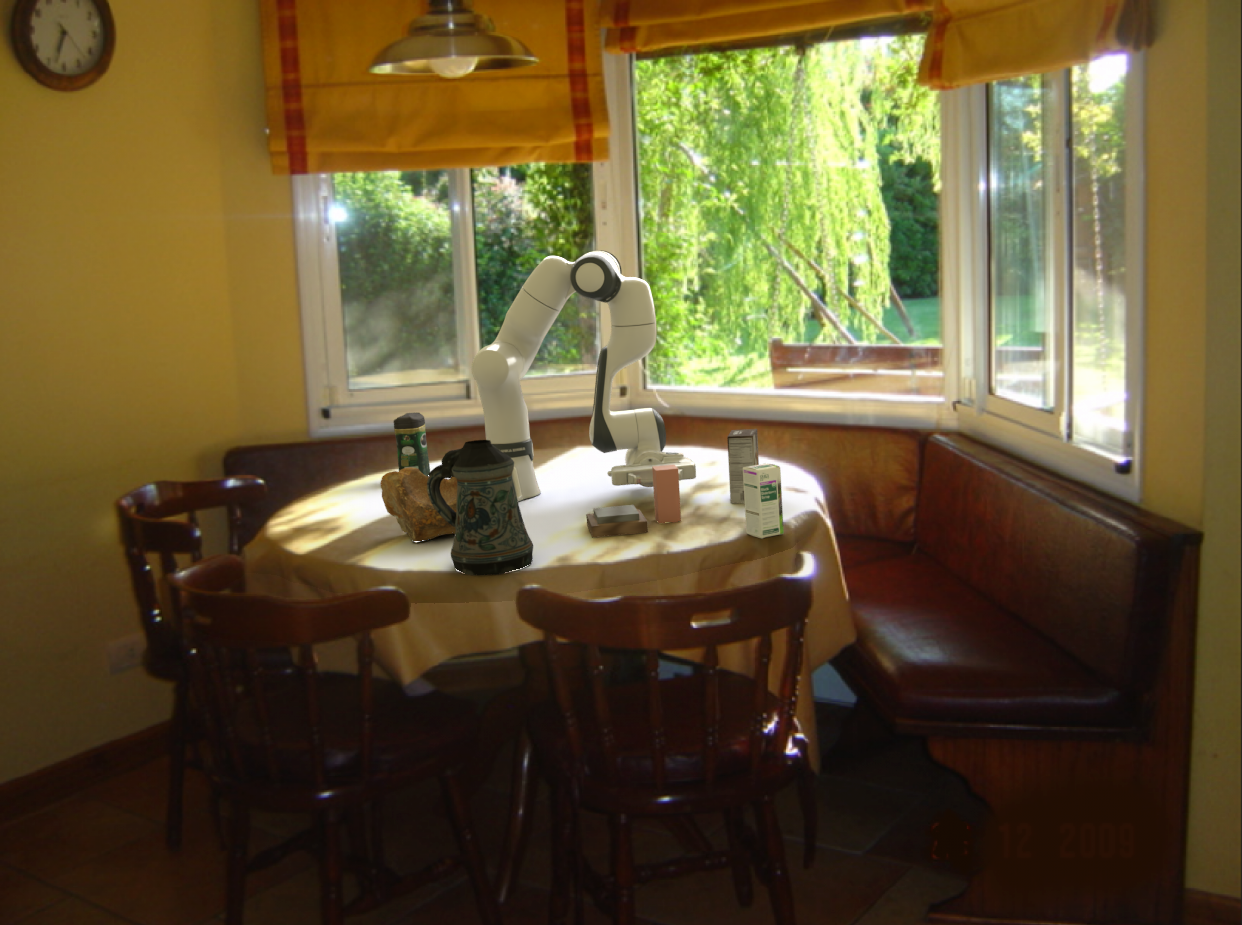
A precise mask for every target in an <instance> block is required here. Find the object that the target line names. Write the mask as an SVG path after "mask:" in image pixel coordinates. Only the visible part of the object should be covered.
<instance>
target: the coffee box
mask: <svg viewBox="0 0 1242 925" xmlns="http://www.w3.org/2000/svg"><path fill="white" fill-rule="evenodd" d="M758 437H759V436H758V429H757V428H752V429H751V428H750V429H731V431H730V432H729V434H728V435H727V437H726V438H727V458H728V477H729V494H730V495H729V497H730V504H745V499H744V483H743V468H744V467H749V466H755V465H760V462H759V460H760V459H759V444H758V441H759V440H758Z"/></svg>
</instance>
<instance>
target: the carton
mask: <svg viewBox="0 0 1242 925" xmlns="http://www.w3.org/2000/svg"><path fill="white" fill-rule="evenodd" d="M652 471H653V487H652V488H653V502H654V504H653V505H654V519H655V521H656V522H657V521H658V522H657V523H658V524H659V523H662V524H666V523H665V522H673V523H679V522H678V521H681V522H682V515H681V514H682V513H681V512H682V511H681V493H680V481H679V473H678V468H677V467H676V466H675V465H664V466H653V467H652Z"/></svg>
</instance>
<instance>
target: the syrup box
mask: <svg viewBox="0 0 1242 925" xmlns="http://www.w3.org/2000/svg"><path fill="white" fill-rule="evenodd" d="M743 483H744V499H745V503H744V512H745V530H746V534H747V535H750V536H752V537H756V538H758V539H764V538H769V537H774V536H778V535H779V536H781V535H784V516H783V514H784V513H783V497H782V496H783V495H782V494H783V492H782V475H781V467H780V465H777V464H773V463H766V462H765V463H762V464H759V465H755V466H749V467H744V468H743Z"/></svg>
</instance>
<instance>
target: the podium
mask: <svg viewBox="0 0 1242 925" xmlns="http://www.w3.org/2000/svg"><path fill="white" fill-rule="evenodd" d="M592 510H593V511H592V513H586V514H585V517H586V526H587V528H588V530H589V532H590V535H591V537H592V538H593V537H594V538H604V537H605V538H606V537H612V536H623V535H624V536H625V535H633V534H636V535H637V534H646V533H647V532H648V533H649V526H648V525H649V524H648V520H647V518H646V517H645V514H643V513H642V511H641V510H640V508H639V509H638V508H636V506H635V505H634V504H629V505H628V504H626V505H625V504H624V505H615V506H606V507H605V506H604V507H602V506H601V507H593V508H592Z"/></svg>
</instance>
